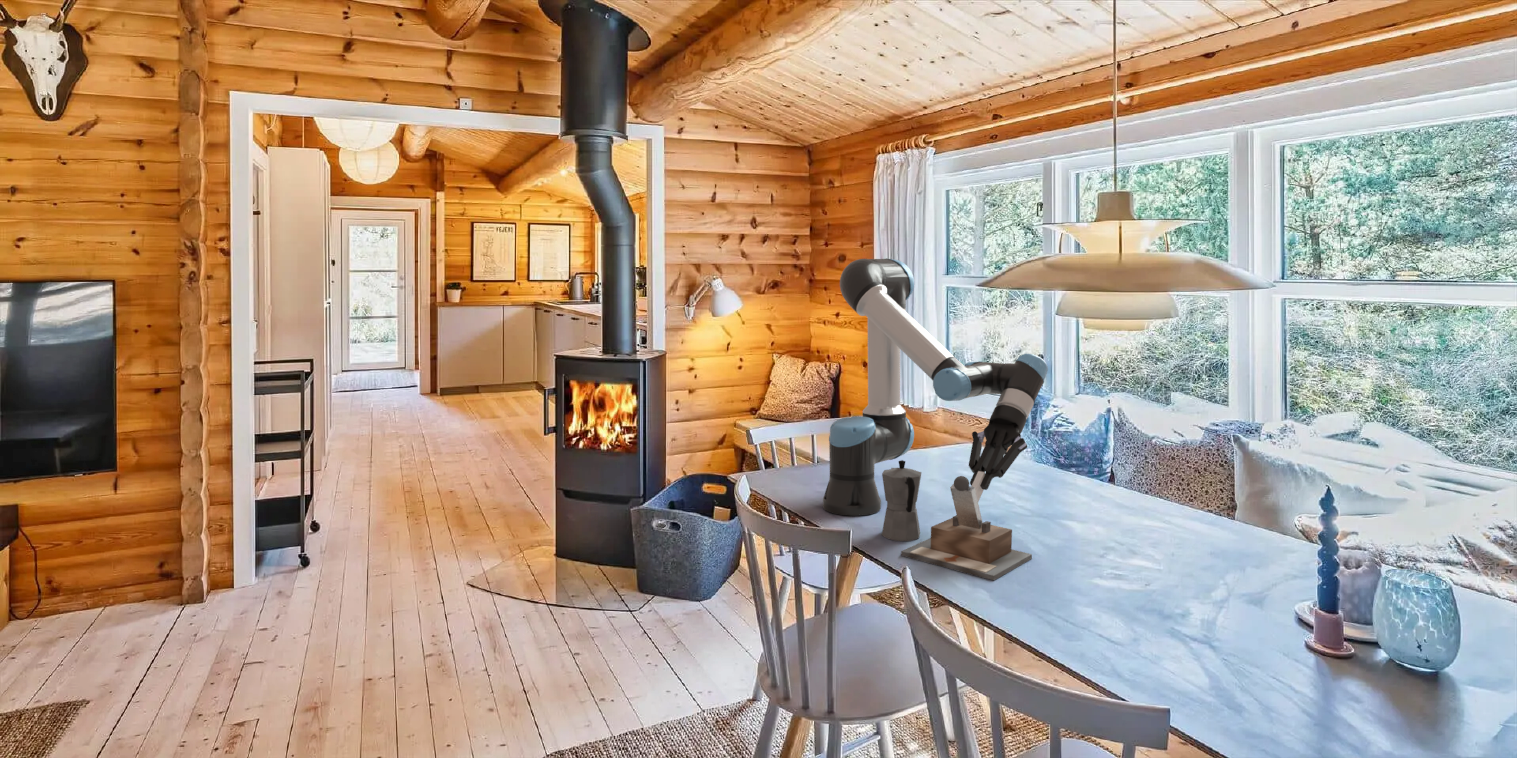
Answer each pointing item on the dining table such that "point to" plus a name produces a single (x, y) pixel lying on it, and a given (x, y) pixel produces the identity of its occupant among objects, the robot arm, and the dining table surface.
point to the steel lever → (966, 503)
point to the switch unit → (969, 549)
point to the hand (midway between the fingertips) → (972, 499)
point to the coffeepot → (901, 503)
